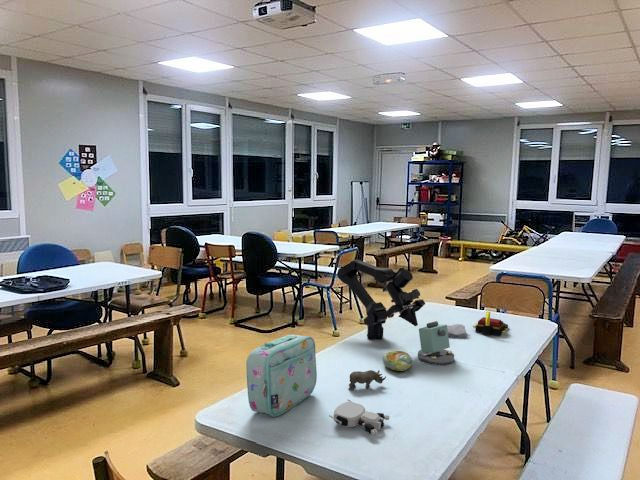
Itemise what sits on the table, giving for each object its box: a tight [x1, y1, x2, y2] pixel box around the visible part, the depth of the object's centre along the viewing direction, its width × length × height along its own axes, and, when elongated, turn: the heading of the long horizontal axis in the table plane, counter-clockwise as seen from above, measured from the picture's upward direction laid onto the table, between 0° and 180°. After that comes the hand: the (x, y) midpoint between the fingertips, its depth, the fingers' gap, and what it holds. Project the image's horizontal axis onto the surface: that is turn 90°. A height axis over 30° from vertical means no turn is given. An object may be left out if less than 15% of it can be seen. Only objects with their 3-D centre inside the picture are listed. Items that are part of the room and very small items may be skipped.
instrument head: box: [418, 320, 451, 353], centre depth 200 cm, size 8×10×11 cm
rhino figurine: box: [348, 369, 387, 391], centre depth 173 cm, size 4×14×6 cm, turn 104°
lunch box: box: [245, 333, 318, 418], centre depth 158 cm, size 27×10×21 cm, turn 148°
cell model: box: [382, 350, 413, 372], centre depth 192 cm, size 11×8×15 cm
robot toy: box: [328, 398, 390, 435], centre depth 146 cm, size 12×4×15 cm
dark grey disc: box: [417, 349, 455, 366], centre depth 200 cm, size 14×14×3 cm
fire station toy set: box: [472, 311, 509, 336], centre depth 238 cm, size 14×20×11 cm
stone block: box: [441, 323, 467, 339], centre depth 232 cm, size 12×5×10 cm
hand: (416, 325), depth 207 cm, fingers closed
